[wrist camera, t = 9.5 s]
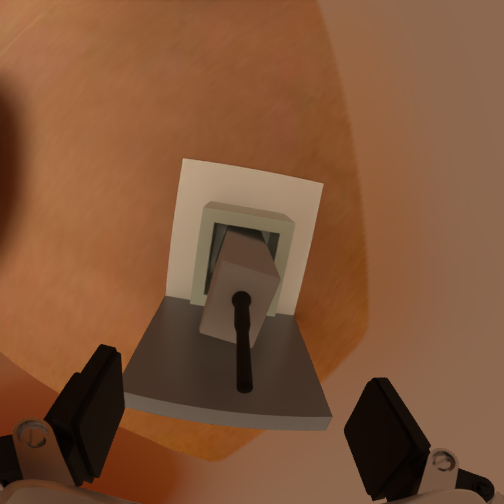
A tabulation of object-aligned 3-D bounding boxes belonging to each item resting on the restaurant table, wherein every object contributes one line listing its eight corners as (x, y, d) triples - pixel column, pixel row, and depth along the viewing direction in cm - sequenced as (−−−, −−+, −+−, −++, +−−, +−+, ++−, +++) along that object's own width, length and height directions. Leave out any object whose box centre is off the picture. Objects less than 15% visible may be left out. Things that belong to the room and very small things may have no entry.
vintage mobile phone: (215, 260, 34) (176, 428, 10) (229, 219, 33) (208, 332, 9) (246, 270, 35) (263, 447, 11) (261, 230, 34) (315, 360, 10)
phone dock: (185, 158, 33) (124, 139, 14) (320, 183, 34) (406, 193, 15) (166, 303, 37) (116, 404, 18) (289, 322, 38) (325, 430, 20)
